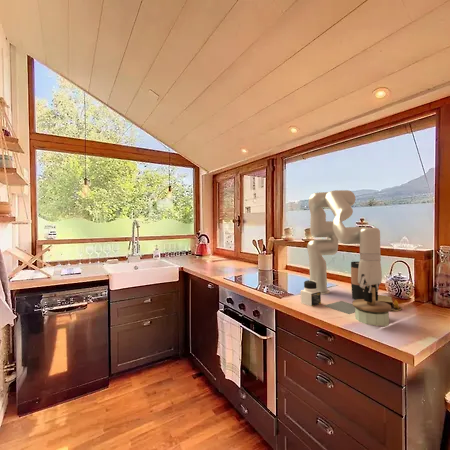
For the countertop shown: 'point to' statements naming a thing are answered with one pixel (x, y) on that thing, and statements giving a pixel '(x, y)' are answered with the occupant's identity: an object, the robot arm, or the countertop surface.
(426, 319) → the countertop surface
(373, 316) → the bowl
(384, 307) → the lid
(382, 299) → the toy sandwich meal
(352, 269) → the travel mug
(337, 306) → the mat
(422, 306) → the countertop surface
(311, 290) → the medicine bottle
